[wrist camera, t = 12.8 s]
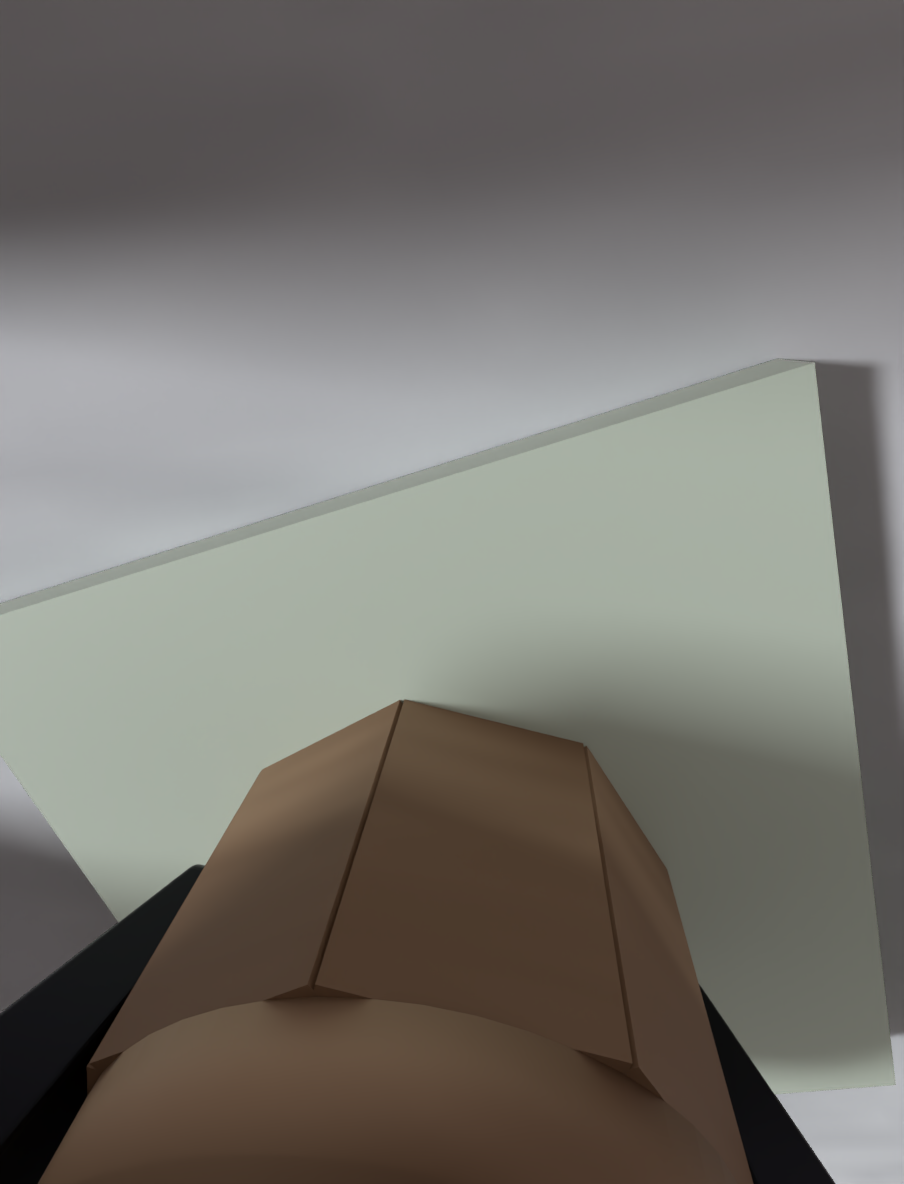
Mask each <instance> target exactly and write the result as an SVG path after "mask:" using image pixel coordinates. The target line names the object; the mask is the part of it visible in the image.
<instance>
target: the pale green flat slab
mask: <svg viewBox="0 0 904 1184" xmlns="http://www.w3.org/2000/svg"><path fill="white" fill-rule="evenodd" d="M404 699H405V700H409V701H413V702H417V703H421V704H425V705H429V706H434V707H438V708H442V709H446V710H450V711H454V712H458V713H462V714H466V715H470V716H474V717H478V718H482V719H486V720H490V721H495V722H499V723H503V724H507V725H511V726H515V727H519V728H523V729H527V730H531V731H535V732H539V733H543V734H547V735H552V736H556V737H560V738H564V739H568V740H572V741H576V742H580V743H583V745H584V747H585V746H587V747H588V748H589V750H590V751H591V753H592V754H593V756H594V758H595V759H596V761H597V762H598V764H599V765H600V767H601V768H602V770H603V771H604V773H605V774H606V776H607V778H608V779H609V781H610V782H611V784H612V785H613V787H614V788H615V790H616V791H617V793H618V794H619V796H620V798H621V799H622V801H623V802H624V804H625V805H626V807H627V808H628V810H629V811H630V813H631V814H632V816H633V818H634V819H635V821H636V822H637V824H638V825H639V827H640V828H641V830H642V831H643V833H644V834H645V836H646V838H647V839H648V841H649V842H650V844H651V845H652V847H653V848H654V850H655V851H656V853H657V854H658V856H659V858H660V859H661V861H662V862H663V864H664V865H665V867H666V868H667V870H668V874H669V877H670V881H671V885H672V888H673V892H674V896H675V899H676V903H677V907H678V910H679V914H680V918H681V921H682V925H683V929H684V932H685V936H686V939H687V943H688V947H689V950H690V954H691V958H692V961H693V965H694V969H695V972H696V976H697V980H698V983H699V984H700V986H701V987H702V988H703V990H704V991H705V993H706V994H707V996H708V997H709V999H710V1000H711V1001H712V1003H713V1004H714V1006H715V1007H716V1009H717V1010H718V1012H719V1013H720V1015H721V1016H722V1018H723V1019H724V1021H725V1022H726V1024H727V1025H728V1026H729V1028H730V1029H731V1031H732V1032H733V1034H734V1035H735V1037H736V1038H737V1040H738V1041H739V1043H740V1044H741V1046H742V1047H743V1048H744V1050H745V1051H746V1053H747V1054H748V1056H749V1057H750V1059H751V1060H752V1062H753V1063H754V1065H755V1066H756V1068H757V1069H758V1071H759V1072H760V1073H761V1075H762V1076H763V1078H764V1079H765V1081H766V1082H767V1084H768V1085H769V1087H770V1088H771V1090H772V1091H773V1093H774V1094H786V1093H799V1092H811V1091H824V1090H837V1089H850V1088H863V1087H876V1086H889V1085H896V1084H895V1075H894V1066H893V1057H892V1048H891V1039H890V1030H889V1021H888V1012H887V1003H886V994H885V985H884V977H883V968H882V959H881V950H880V941H879V932H878V923H877V914H876V905H875V896H874V887H873V879H872V870H871V861H870V852H869V843H868V834H867V825H866V816H865V807H864V798H863V789H862V780H861V772H860V763H859V754H858V745H857V736H856V727H855V718H854V709H853V700H852V691H851V682H850V674H849V665H848V656H847V647H846V638H845V629H844V620H843V611H842V602H841V593H840V584H839V575H838V567H837V558H836V549H835V540H834V531H833V522H832V513H831V504H830V495H829V486H828V477H827V469H826V460H825V451H824V442H823V433H822V424H821V415H820V406H819V397H818V388H817V379H816V370H815V362H805V361H796V360H786V359H774V360H771V361H768V362H765V363H761V364H758V365H755V366H752V367H749V368H746V369H742V370H739V371H736V372H733V373H730V374H727V375H723V376H720V377H717V378H714V379H711V380H708V381H704V382H701V383H698V384H695V385H692V386H688V387H685V388H682V389H679V390H676V391H673V392H669V393H666V394H663V395H660V396H657V397H654V398H650V399H647V400H644V401H641V402H638V403H634V404H631V405H628V406H625V407H622V408H619V409H615V410H612V411H609V412H606V413H603V414H600V415H596V416H593V417H590V418H587V419H584V420H581V421H577V422H574V423H571V424H568V425H565V426H561V427H558V428H555V429H552V430H549V431H546V432H542V433H539V434H536V435H533V436H530V437H527V438H523V439H520V440H517V441H514V442H511V443H508V444H504V445H501V446H498V447H495V448H492V449H488V450H485V451H482V452H479V453H476V454H473V455H469V456H466V457H463V458H460V459H457V460H454V461H450V462H447V463H444V464H441V465H438V466H434V467H431V468H428V469H425V470H422V471H419V472H415V473H412V474H409V475H406V476H403V477H400V478H396V479H393V480H390V481H387V482H384V483H381V484H377V485H374V486H371V487H368V488H365V489H361V490H358V491H355V492H352V493H349V494H346V495H342V496H339V497H336V498H333V499H330V500H327V501H323V502H320V503H317V504H314V505H311V506H307V507H304V508H301V509H298V510H295V511H292V512H288V513H285V514H282V515H279V516H276V517H273V518H269V519H266V520H263V521H260V522H257V523H254V524H250V525H247V526H244V527H241V528H238V529H234V530H231V531H228V532H225V533H222V534H219V535H215V536H212V537H209V538H206V539H203V540H200V541H196V542H193V543H190V544H187V545H184V546H180V547H177V548H174V549H171V550H168V551H165V552H161V553H158V554H155V555H152V556H149V557H146V558H142V559H139V560H136V561H133V562H130V563H127V564H123V565H120V566H117V567H114V568H111V569H107V570H104V571H101V572H98V573H95V574H92V575H88V576H85V577H82V578H79V579H76V580H73V581H69V582H66V583H63V584H60V585H57V586H54V587H50V588H47V589H44V590H41V591H38V592H34V593H31V594H28V595H25V596H22V597H19V598H15V599H12V600H9V601H6V602H3V603H0V755H1V757H2V758H3V760H4V761H5V762H6V764H7V765H8V767H9V768H10V769H11V771H12V772H13V774H14V775H15V777H16V778H17V779H18V781H19V782H20V784H21V785H22V786H23V788H24V789H25V791H26V792H27V794H28V795H29V796H30V798H31V799H32V801H33V802H34V804H35V805H36V806H37V808H38V809H39V811H40V812H41V813H42V815H43V816H44V818H45V819H46V821H47V822H48V823H49V825H50V826H51V828H52V829H53V830H54V832H55V833H56V835H57V836H58V838H59V839H60V840H61V842H62V843H63V845H64V846H65V848H66V849H67V850H68V852H69V853H70V855H71V856H72V857H73V859H74V860H75V862H76V863H77V865H78V866H79V867H80V869H81V870H82V872H83V873H84V875H85V876H86V877H87V879H88V880H89V882H90V883H91V884H92V886H93V887H94V889H95V890H96V892H97V893H98V894H99V896H100V897H101V899H102V900H103V901H104V903H105V904H106V906H107V907H108V909H109V910H110V911H111V913H112V914H113V916H114V917H115V919H116V920H117V921H118V922H120V921H121V920H122V919H123V918H125V917H126V916H127V915H129V914H130V913H131V912H133V911H134V910H135V909H136V908H138V907H139V906H140V905H142V904H143V903H144V902H146V901H147V900H148V899H149V898H151V897H152V896H153V895H155V894H156V893H157V892H158V891H160V890H161V889H162V888H164V887H165V886H166V885H168V884H169V883H170V882H171V881H173V880H174V879H175V878H177V877H178V876H179V875H180V874H182V873H183V872H184V871H186V870H187V869H188V868H190V867H191V866H193V865H196V864H201V865H206V863H207V861H208V860H209V858H210V856H211V855H212V853H213V851H214V850H215V848H216V846H217V844H218V843H219V841H220V839H221V838H222V836H223V834H224V833H225V831H226V829H227V827H228V826H229V824H230V822H231V821H232V819H233V817H234V816H235V814H236V812H237V811H238V809H239V807H240V805H241V804H242V802H243V800H244V799H245V797H246V795H247V794H248V792H249V790H250V788H251V787H252V785H253V783H254V782H255V780H256V778H257V777H258V775H259V773H260V772H261V770H262V769H264V768H266V767H268V766H270V765H272V764H274V763H276V762H278V761H280V760H282V759H284V758H286V757H288V756H290V755H292V754H294V753H296V752H298V751H300V750H302V749H304V748H306V747H308V746H310V745H311V744H313V743H315V742H317V741H319V740H321V739H323V738H325V737H327V736H329V735H331V734H333V733H335V732H337V731H339V730H341V729H343V728H345V727H347V726H349V725H351V724H353V723H355V722H357V721H359V720H361V719H363V718H365V717H367V716H369V715H371V714H373V713H375V712H377V711H379V710H381V709H383V708H385V707H387V706H389V705H391V704H393V703H395V702H397V701H398V700H400V701H401V702H402V703H403V702H404Z"/></svg>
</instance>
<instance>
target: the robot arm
mask: <svg viewBox="0 0 904 1184" xmlns="http://www.w3.org/2000/svg"><path fill="white" fill-rule="evenodd" d="M204 867H205V865H201V864H196V865H193V866H191V867H190V868H188V869H187V870H186V871H184V872H183V873H182V874H180V875H179V876H178V877H177V878H175V879H174V880H173V881H171V882H170V883H169V884H168V885H166V886H165V887H164V888H162V889H161V890H160V891H158V892H157V893H156V894H155V895H153V896H152V897H151V898H149V899H148V900H147V901H146V902H144V903H143V904H142V905H140V906H139V907H138V908H136V909H135V910H134V911H133V912H131V913H130V914H129V915H127V916H126V917H125V918H123V919H122V920H121V921H120V922H118V923H117V924H116V925H114V926H113V927H112V928H111V929H109V930H108V931H107V932H105V933H104V934H103V935H101V936H100V937H99V938H98V939H96V940H95V941H94V942H92V943H91V944H90V945H88V946H87V947H86V948H85V949H83V950H82V951H81V952H79V953H78V954H77V955H76V956H74V957H73V958H72V959H70V960H69V961H68V962H66V963H65V964H64V965H63V966H61V967H60V968H59V969H57V970H56V971H55V972H53V973H52V974H51V975H50V976H48V977H47V978H46V979H44V980H43V981H42V982H41V983H39V984H38V985H37V986H35V987H34V988H33V989H31V990H30V991H29V992H28V993H26V994H25V995H24V996H22V997H21V998H20V999H18V1000H17V1001H16V1002H15V1003H13V1004H12V1005H11V1006H9V1007H8V1008H7V1009H6V1010H4V1011H3V1012H2V1013H0V1184H38V1182H39V1181H40V1179H41V1177H42V1175H43V1173H44V1172H45V1170H46V1168H47V1166H48V1165H49V1163H50V1161H51V1159H52V1158H53V1156H54V1154H55V1152H56V1150H57V1149H58V1147H59V1145H60V1143H61V1142H62V1140H63V1138H64V1136H65V1135H66V1133H67V1131H68V1129H69V1127H70V1126H71V1124H72V1122H73V1120H74V1119H75V1117H76V1115H77V1113H78V1112H79V1110H80V1108H81V1106H82V1105H83V1103H84V1101H85V1099H86V1097H87V1096H88V1094H87V1065H88V1063H89V1062H90V1060H91V1058H92V1057H93V1055H94V1053H95V1052H96V1050H97V1048H98V1046H99V1045H100V1043H101V1041H102V1040H103V1038H104V1036H105V1035H106V1033H107V1031H108V1030H109V1028H110V1026H111V1024H112V1023H113V1021H114V1019H115V1018H116V1016H117V1014H118V1013H119V1011H120V1009H121V1007H122V1006H123V1004H124V1002H125V1001H126V999H127V997H128V996H129V994H130V992H131V990H132V989H133V987H134V985H135V984H136V982H137V980H138V979H139V977H140V975H141V973H142V972H143V970H144V968H145V967H146V965H147V963H148V962H149V960H150V958H151V957H152V955H153V953H154V951H155V950H156V948H157V946H158V945H159V943H160V941H161V940H162V938H163V936H164V934H165V933H166V931H167V929H168V928H169V926H170V924H171V923H172V921H173V919H174V917H175V916H176V914H177V912H178V911H179V909H180V907H181V906H182V904H183V902H184V900H185V899H186V897H187V895H188V894H189V892H190V890H191V889H192V887H193V885H194V884H195V882H196V880H197V878H198V877H199V875H200V873H201V872H202V870H203V868H204ZM699 987H700V991H701V994H702V998H703V1001H704V1005H705V1009H706V1012H707V1016H708V1020H709V1023H710V1027H711V1031H712V1034H713V1038H714V1042H715V1045H716V1049H717V1053H718V1056H719V1060H720V1063H721V1067H722V1071H723V1074H724V1078H725V1082H726V1085H727V1089H728V1093H729V1096H730V1100H731V1104H732V1107H733V1111H734V1115H735V1118H736V1122H737V1125H738V1129H739V1133H740V1136H741V1140H742V1144H743V1147H744V1151H745V1155H746V1158H747V1162H748V1166H749V1169H750V1173H751V1177H752V1180H753V1184H835V1182H834V1181H833V1179H832V1178H831V1176H830V1175H829V1173H828V1172H827V1170H826V1169H825V1167H824V1166H823V1165H822V1163H821V1162H820V1160H819V1159H818V1157H817V1156H816V1154H815V1153H814V1151H813V1150H812V1148H811V1147H810V1145H809V1144H808V1143H807V1141H806V1140H805V1138H804V1137H803V1135H802V1134H801V1132H800V1131H799V1129H798V1128H797V1126H796V1125H795V1123H794V1122H793V1120H792V1119H791V1118H790V1116H789V1115H788V1113H787V1112H786V1110H785V1109H784V1107H783V1106H782V1104H781V1103H780V1101H779V1100H778V1098H777V1097H776V1096H775V1094H774V1093H773V1091H772V1090H771V1088H770V1087H769V1085H768V1084H767V1082H766V1081H765V1079H764V1078H763V1076H762V1075H761V1073H760V1072H759V1071H758V1069H757V1068H756V1066H755V1065H754V1063H753V1062H752V1060H751V1059H750V1057H749V1056H748V1054H747V1053H746V1051H745V1050H744V1048H743V1047H742V1046H741V1044H740V1043H739V1041H738V1040H737V1038H736V1037H735V1035H734V1034H733V1032H732V1031H731V1029H730V1028H729V1026H728V1025H727V1024H726V1022H725V1021H724V1019H723V1018H722V1016H721V1015H720V1013H719V1012H718V1010H717V1009H716V1007H715V1006H714V1004H713V1003H712V1001H711V1000H710V999H709V997H708V996H707V994H706V993H705V991H704V990H703V988H702V987H701V986H700V984H699Z"/></svg>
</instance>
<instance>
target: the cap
mask: <svg viewBox="0 0 904 1184" xmlns="http://www.w3.org/2000/svg"><path fill="white" fill-rule="evenodd" d="M87 1094H88V1096H87V1097H86V1099H85V1101H84V1103H83V1105H82V1106H81V1108H80V1110H79V1112H78V1113H77V1115H76V1117H75V1119H74V1120H73V1122H72V1124H71V1126H70V1127H69V1129H68V1131H67V1133H66V1135H65V1136H64V1138H63V1140H62V1142H61V1143H60V1145H59V1147H58V1149H57V1150H56V1152H55V1154H54V1156H53V1158H52V1159H51V1161H50V1163H49V1165H48V1166H47V1168H46V1170H45V1172H44V1173H43V1175H42V1177H41V1179H40V1181H39V1182H38V1184H753V1180H752V1177H751V1173H750V1169H749V1166H748V1162H747V1158H746V1155H745V1151H744V1147H743V1144H742V1140H741V1136H740V1133H739V1129H738V1125H737V1122H736V1118H735V1115H734V1111H733V1107H732V1104H731V1100H730V1096H729V1093H728V1089H727V1085H726V1082H725V1078H724V1074H723V1071H722V1067H721V1063H720V1060H719V1056H718V1053H717V1049H716V1045H715V1042H714V1038H713V1034H712V1031H711V1027H710V1023H709V1020H708V1016H707V1012H706V1009H705V1005H704V1001H703V998H702V994H701V991H700V987H699V983H698V980H697V976H696V972H695V969H694V965H693V961H692V958H691V954H690V950H689V947H688V943H687V939H686V936H685V932H684V929H683V925H682V921H681V918H680V914H679V910H678V907H677V903H676V899H675V896H674V892H673V888H672V885H671V881H670V877H669V874H668V870H667V868H666V867H665V865H664V864H663V862H662V861H661V859H660V858H659V856H658V854H657V853H656V851H655V850H654V848H653V847H652V845H651V844H650V842H649V841H648V839H647V838H646V836H645V834H644V833H643V831H642V830H641V828H640V827H639V825H638V824H637V822H636V821H635V819H634V818H633V816H632V814H631V813H630V811H629V810H628V808H627V807H626V805H625V804H624V802H623V801H622V799H621V798H620V796H619V794H618V793H617V791H616V790H615V788H614V787H613V785H612V784H611V782H610V781H609V779H608V778H607V776H606V774H605V773H604V771H603V770H602V768H601V767H600V765H599V764H598V762H597V761H596V759H595V758H594V756H593V754H592V753H591V751H590V750H589V748H588V747H587V746H585V747H584V745H583V743H580V742H576V741H572V740H568V739H564V738H560V737H556V736H552V735H547V734H543V733H539V732H535V731H531V730H527V729H523V728H519V727H515V726H511V725H507V724H503V723H499V722H495V721H490V720H486V719H482V718H478V717H474V716H470V715H466V714H462V713H458V712H454V711H450V710H446V709H442V708H438V707H434V706H429V705H425V704H421V703H417V702H413V701H409V700H405V699H404V702H403V703H402V702H401V701H400V700H398V701H397V702H395V703H393V704H391V705H389V706H387V707H385V708H383V709H381V710H379V711H377V712H375V713H373V714H371V715H369V716H367V717H365V718H363V719H361V720H359V721H357V722H355V723H353V724H351V725H349V726H347V727H345V728H343V729H341V730H339V731H337V732H335V733H333V734H331V735H329V736H327V737H325V738H323V739H321V740H319V741H317V742H315V743H313V744H311V745H310V746H308V747H306V748H304V749H302V750H300V751H298V752H296V753H294V754H292V755H290V756H288V757H286V758H284V759H282V760H280V761H278V762H276V763H274V764H272V765H270V766H268V767H266V768H264V769H262V770H261V772H260V773H259V775H258V777H257V778H256V780H255V782H254V783H253V785H252V787H251V788H250V790H249V792H248V794H247V795H246V797H245V799H244V800H243V802H242V804H241V805H240V807H239V809H238V811H237V812H236V814H235V816H234V817H233V819H232V821H231V822H230V824H229V826H228V827H227V829H226V831H225V833H224V834H223V836H222V838H221V839H220V841H219V843H218V844H217V846H216V848H215V850H214V851H213V853H212V855H211V856H210V858H209V860H208V861H207V863H206V865H205V867H204V868H203V870H202V872H201V873H200V875H199V877H198V878H197V880H196V882H195V884H194V885H193V887H192V889H191V890H190V892H189V894H188V895H187V897H186V899H185V900H184V902H183V904H182V906H181V907H180V909H179V911H178V912H177V914H176V916H175V917H174V919H173V921H172V923H171V924H170V926H169V928H168V929H167V931H166V933H165V934H164V936H163V938H162V940H161V941H160V943H159V945H158V946H157V948H156V950H155V951H154V953H153V955H152V957H151V958H150V960H149V962H148V963H147V965H146V967H145V968H144V970H143V972H142V973H141V975H140V977H139V979H138V980H137V982H136V984H135V985H134V987H133V989H132V990H131V992H130V994H129V996H128V997H127V999H126V1001H125V1002H124V1004H123V1006H122V1007H121V1009H120V1011H119V1013H118V1014H117V1016H116V1018H115V1019H114V1021H113V1023H112V1024H111V1026H110V1028H109V1030H108V1031H107V1033H106V1035H105V1036H104V1038H103V1040H102V1041H101V1043H100V1045H99V1046H98V1048H97V1050H96V1052H95V1053H94V1055H93V1057H92V1058H91V1060H90V1062H89V1063H88V1065H87Z"/></svg>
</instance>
